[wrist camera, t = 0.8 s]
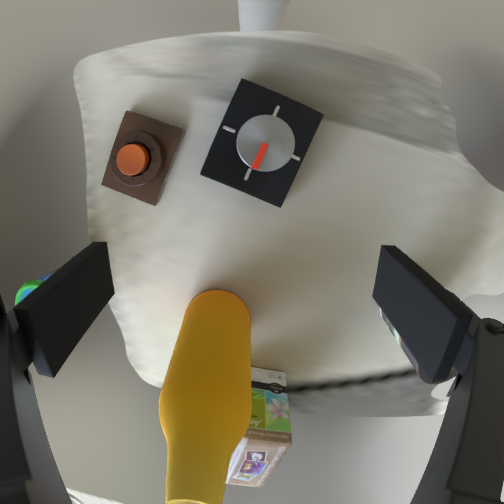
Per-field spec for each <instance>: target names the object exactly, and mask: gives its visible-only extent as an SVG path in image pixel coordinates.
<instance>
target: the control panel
mask: <svg viewBox="0 0 504 504" xmlns="http://www.w3.org/2000/svg"><path fill="white" fill-rule="evenodd" d="M259 115H272V116H276V117H278V118H280V119H282V120H283V121H284V122H286V123H287V124H288V126H289V127H290V128H291V130H292V132H293V135H294V139H295V148H294V152H293V155H292V156H291V158H290V160H289V161H288V162H287V163H286V164H285V165H284V166H282V167H281V168H279V169H277V170H273V171H258V170H255V169H253V168H251V167H249V166H248V165H247V164H246V163H245V162H244V161H243V160H242V159H241V157H240V155H239V153H238V150H237V136H238V133H239V131H240V129H241V127H242V126H243V125H244V124H245V122H247V121H248V120H249V119H251V118H253V117H255V116H259ZM322 117H323V114H322V113H320V112H318V111H316V110H314V109H312V108H309V107H307V106H305V105H303V104H301V103H299V102H297V101H295V100H292V99H290V98H288V97H286V96H283V95H281V94H279V93H277V92H274V91H272V90H270V89H267V88H265V87H262V86H260V85H257V84H255V83H252V82H250V81H247V80H245V79H241V81H240V83H239V85H238V87H237V89H236V92H235V94H234V96H233V98H232V100H231V102H230V105H229V107H228V109H227V111H226V114H225V116H224V118H223V120H222V123H221V125H220V127H219V129H218V132H217V134H216V136H215V139H214V141H213V143H212V146H211V148H210V151H209V153H208V155H207V158H206V160H205V163H204V165H203V168H202V170H201V173H200V175H202V176H205V177H207V178H210V179H212V180H215V181H217V182H220V183H222V184H225V185H227V186H230V187H232V188H235V189H237V190H239V191H242V192H244V193H247V194H249V195H251V196H254V197H256V198H259V199H261V200H263V201H266V202H268V203H270V204H273V205H275V206H277V207H280V208H281V206H282V204H283V202H284V200H285V198H286V195H287V193H288V191H289V189H290V187H291V185H292V183H293V180H294V178H295V176H296V174H297V172H298V170H299V167H300V165H301V163H302V161H303V159H304V157H305V154H306V152H307V150H308V148H309V146H310V144H311V141H312V139H313V137H314V135H315V133H316V131H317V128H318V126H319V124H320V122H321V120H322Z"/></svg>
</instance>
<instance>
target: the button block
mask: <svg viewBox="0 0 504 504" xmlns="http://www.w3.org/2000/svg"><path fill="white" fill-rule="evenodd" d="M184 133H185V130H183V129H180V128H178V127H175V126H172V125H169V124H166V123H163V122H160V121H158V120H155V119H152V118H149V117H146V116H143V115H140V114H136V113H133V112H130V111H126V112H125V115H124V117H123V120H122V123H121V125H120V128H119V131H118V134H117V137H116V139H115V142H114V145H113V148H112V151H111V154H110V158H109V161H108V164H107V167H106V171H105V174H104V177H103V181H102V184H101V185H103V186H105V187H108V188H111V189H113V190H116V191H118V192H121V193H123V194H126V195H128V196H131V197H133V198H136V199H138V200H141V201H143V202H146V203H148V204H151V205H153V206H156V205H157V204H158V202H159V199H160V196H161V193H162V190H163V188H164V185H165V182H166V179H167V176H168V174H169V171H170V168H171V166H172V163H173V160H174V158H175V155H176V153H177V150H178V148H179V145H180V143H181V140H182V138H183V135H184ZM128 144H141V145H143V146H144V147H145V148H146V149H147V150H148V153H149V157H150V159H149V164H148V166H147V168H146V169H145V170H144V171H143V172H141V173H138V174H135V175H126V174H124V173H122V172H121V171H120V169H119V168H118V166H117V155H118V152H119V151H120V149H121V148H122V147H124V146H125V145H128Z"/></svg>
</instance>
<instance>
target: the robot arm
mask: <svg viewBox="0 0 504 504" xmlns="http://www.w3.org/2000/svg"><path fill="white" fill-rule="evenodd" d="M114 294H115V292H114V287H113V281H112V275H111V269H110V262H109V255H108V248H107V242H93V243H91V244H90V245H89V246H88V247H86V248H85V249H83V250H82V251H81V252H80V253H78V254H77V255H76V256H75V257H73V258H72V259H71V260H70V261H68V262H67V263H66V264H64V265H63V266H62V267H61V268H59V269H58V270H57V271H56V272H55V273H53V274H52V275H51V276H50V277H49V278H47V279H46V280H45V281H44V282H43V283H41V284H40V285H39V286H38V287H37V288H35V289H34V290H33V291H31V292H30V293H29V294H28V295H27V296H26V297H25V298H23V299H22V301H20V302H19V303H18V304H17V305H16V306H14V307H13V308H12V309H11V310H10V311H9V312H8V313H7V314H6V311H5V308H4V304H3V301H2V298H1V295H0V504H72V502H71V499H70V497H69V495H68V493H67V490H66V488H65V486H64V483H63V481H62V478H61V476H60V473H59V471H58V468H57V466H56V462H55V460H54V457H53V454H52V451H51V448H50V445H49V442H48V439H47V436H46V432H45V429H44V426H43V422H42V418H41V415H40V411H39V407H38V403H37V399H36V395H35V390H34V385H33V381H32V376H31V373H30V371H29V369H28V367H29V365H30V364H31V363H32V362H33V363H34V365H35V368H36V370H37V372H38V374H40V375H44V376H48V377H52V378H54V377H55V376H56V374H57V373H58V371H59V370H60V368H61V367H62V365H63V364H64V362H65V361H66V359H67V358H68V356H69V355H70V354H71V352H72V351H73V349H74V348H75V346H76V345H77V344H78V342H79V341H80V339H81V338H82V337H83V335H84V334H85V332H86V331H87V330H88V328H89V327H90V326H91V324H92V323H93V321H94V320H95V319H96V317H97V316H98V315H99V313H100V312H101V311H102V309H103V308H104V307H105V305H106V304H107V303H108V301H109V300H110V299H111V297H112V296H113V295H114ZM372 297H373V298H374V300H375V301H376V303H377V304H378V305H379V307H380V308H381V310H382V311H383V312H384V314H385V315H386V317H387V318H388V320H389V321H390V322H391V324H392V325H393V327H394V328H395V330H396V331H397V333H398V334H399V336H400V337H401V339H402V340H403V342H404V343H405V345H406V346H407V348H408V349H409V351H410V352H411V354H412V355H413V357H414V358H415V360H416V361H417V363H418V364H419V366H420V368H421V369H422V371H423V372H424V374H425V375H426V377H427V379H428V380H429V382H430V383H434V382H439V381H443V380H447V378H448V376H449V374H450V372H451V369H452V367H454V368H455V370H456V371H457V372H458V373H457V376H456V378H455V380H454V382H453V384H452V386H451V388H450V390H449V392H448V394H447V397H449V396H450V398H449V402H448V405H447V409H446V412H445V416H444V419H443V422H442V426H441V428H440V432H439V435H438V438H437V440H436V443H435V446H434V449H433V451H432V455H431V457H430V459H429V462H428V464H427V467H426V470H425V472H424V474H423V477H422V479H421V481H420V484H419V486H418V488H417V490H416V493H415V495H414V497H413V499H412V501H411V503H410V504H504V502H501V500H500V497H501V491H502V486H503V481H504V324H503V323H501V322H500V321H498V320H495V319H491V318H483V319H480V318H479V317H478V316H477V315H476V314H475V313H474V312H473V311H472V310H471V309H470V308H469V307H468V306H466V305H465V304H464V303H463V302H462V301H460V299H459V298H458V297H457V296H456V295H455V294H454V293H452V292H450V291H448V290H446V289H445V288H444V287H443V286H442V285H441V284H440V283H438V282H437V281H436V280H435V279H434V278H433V277H432V276H431V275H429V274H428V273H427V272H426V271H425V270H424V269H422V268H421V267H420V266H419V265H418V264H417V263H415V262H414V261H413V260H412V259H411V258H409V257H408V256H407V255H406V254H405V253H403V252H402V251H401V250H400V249H398V248H397V247H396V246H392V245H381V250H380V256H379V262H378V268H377V274H376V279H375V285H374V290H373V295H372Z"/></svg>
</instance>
